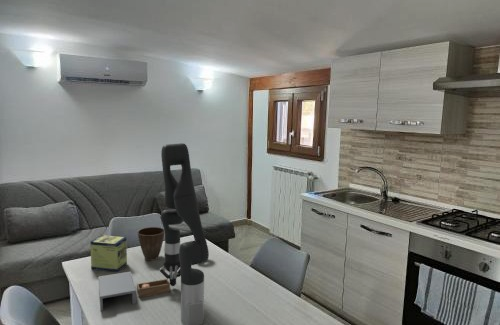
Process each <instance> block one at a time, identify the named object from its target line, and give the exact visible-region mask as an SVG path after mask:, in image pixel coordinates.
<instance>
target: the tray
mask: <svg viewBox="0 0 500 325" xmlns="http://www.w3.org/2000/svg"><path fill="white" fill-rule="evenodd" d="M143 284H149V285H150V287H147V288H142V285H143ZM170 292H171V285H170V280H169V278H168V279H167V278H165V279H159V280H152V281H148V282H142V283H136V294H137V296H138V298H145V297H151V296H155V295H160V294H166V293H170Z"/></svg>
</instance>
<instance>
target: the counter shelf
mask: <svg viewBox="0 0 500 325" xmlns="http://www.w3.org/2000/svg"><path fill="white" fill-rule="evenodd" d="M135 285H136V284H135V281H134V278H133V275H132V271H125V272H119V273H113V274H106V275H101V276H98V293H99V294H98V295H99V296H98V297H99V309H100V312H103V311H104V304H103V302H104V300H103V299H107V298H113V297H118V296H124V295H129V294H131V298H132V299H131V300H132V302H131V303H132V305H134V304H137V288H136V286H135Z"/></svg>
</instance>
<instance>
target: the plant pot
mask: <svg viewBox="0 0 500 325" xmlns="http://www.w3.org/2000/svg"><path fill="white" fill-rule="evenodd" d="M137 237H138V242H139V246H140V249H141V252H142V255H143V256H144V259H145V260H147V261H155V260H157V259H158V258H159V256H160V253H161V249H162V246H163V242H164V239H165V231H164V228H162V227H156V226H150V227H144V228H141V229H138V231H137Z"/></svg>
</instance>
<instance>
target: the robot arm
mask: <svg viewBox="0 0 500 325" xmlns="http://www.w3.org/2000/svg"><path fill="white" fill-rule="evenodd" d="M189 152H190V151H189V148H188V146H187V145H186V143H184V142H183V143H182V142H181V143H168V144H163V146H161V166H162V173H163V180H164V181H163V182H164V205H165V206H166V207H167V208H168V209H164V210H162V211H161V213H160V221H161V223H162V227H163V229H164V249H163V252H164V262H163V266H162V267H159V268H158V269H159V272H160V273H161V274H162V276H164V277H165V279H168V280H169V283H170V287H175V286H176V285H177V278H179V277H180V322H181V324H182V325H203V324H204V320H205V317H204V316H205V273H204V272H203V271H202V270H201V269H198V268H192V266H195V265H199V264H200V265H201V264H204V263H207V261H208V260H209V256H210V254H209V247H208V243H207V240H206V236H205V232H204V229H203V226H202V221H201V215H200V210H199V209H200V208H199V204H198V199H197V194H196V190H195V186H194V180H193V176H192V168H191V161H190V160H191V159H190V154H189ZM171 166H181V175H180V178H179V180H178V181H177V180H176V178H175V176H174V175H173V173H172V171H171ZM183 222H184V223H185V225H186V226H188V228H189V229H190V231H191V234H192V235H193V239H194V240H190V241H186V242H185V241H184V242H183V243H181V231H180V229H179V228H175V227H170V226H172V225H173V226H174V225H181V224H183ZM167 272H168V273H167Z"/></svg>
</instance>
